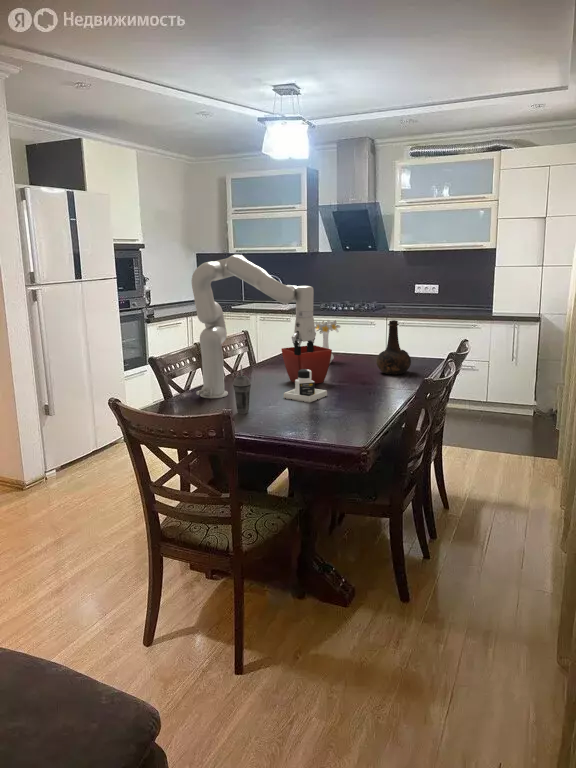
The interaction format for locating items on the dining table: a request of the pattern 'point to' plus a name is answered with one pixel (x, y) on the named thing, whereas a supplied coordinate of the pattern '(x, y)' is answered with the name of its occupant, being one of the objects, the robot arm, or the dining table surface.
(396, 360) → the glass bottle
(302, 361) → the plant pot
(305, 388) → the medicine bottle
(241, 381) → the beverage cup
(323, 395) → the tray
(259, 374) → the dining table surface
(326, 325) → the flower vase
